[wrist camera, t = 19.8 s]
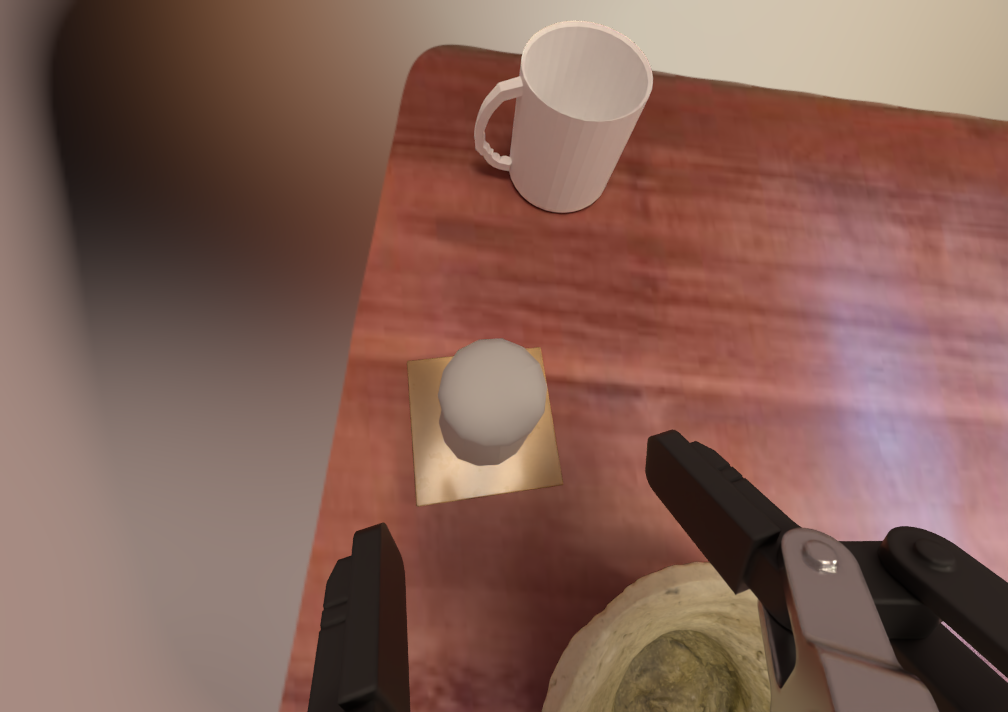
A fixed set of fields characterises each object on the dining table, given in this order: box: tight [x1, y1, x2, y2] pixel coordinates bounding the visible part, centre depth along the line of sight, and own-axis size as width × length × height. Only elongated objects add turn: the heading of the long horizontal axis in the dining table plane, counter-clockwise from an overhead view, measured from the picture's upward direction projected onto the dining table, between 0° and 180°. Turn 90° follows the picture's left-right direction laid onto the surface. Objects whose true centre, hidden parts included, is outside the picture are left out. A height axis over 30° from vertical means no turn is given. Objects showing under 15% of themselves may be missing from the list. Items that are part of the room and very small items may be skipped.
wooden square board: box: [407, 347, 563, 507], centre depth 26 cm, size 10×10×1 cm
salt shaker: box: [438, 338, 547, 466], centre depth 20 cm, size 6×6×13 cm
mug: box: [474, 21, 653, 213], centre depth 29 cm, size 12×9×9 cm
